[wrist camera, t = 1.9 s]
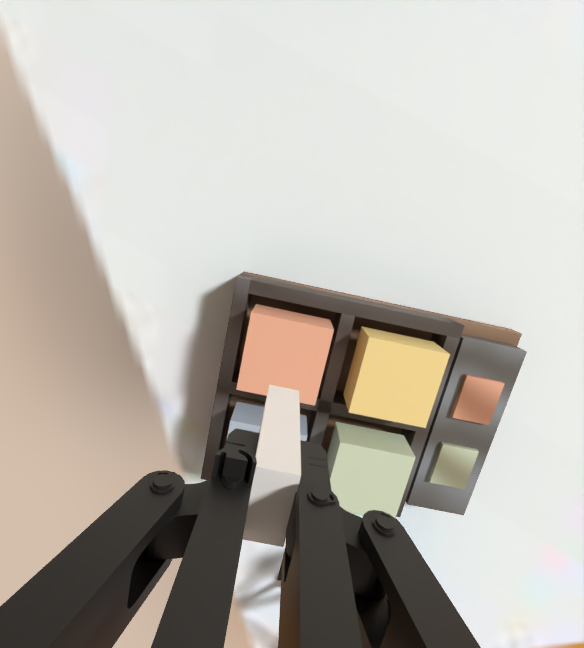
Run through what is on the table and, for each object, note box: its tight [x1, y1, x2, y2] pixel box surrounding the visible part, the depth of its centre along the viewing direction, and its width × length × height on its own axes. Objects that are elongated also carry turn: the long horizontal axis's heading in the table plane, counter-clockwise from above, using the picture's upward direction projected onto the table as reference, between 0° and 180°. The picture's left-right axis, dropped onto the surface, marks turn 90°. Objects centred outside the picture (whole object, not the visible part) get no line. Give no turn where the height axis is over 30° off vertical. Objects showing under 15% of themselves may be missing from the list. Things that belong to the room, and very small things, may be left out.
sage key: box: [327, 422, 416, 518], centre depth 28 cm, size 6×6×3 cm
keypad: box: [201, 272, 526, 517], centre depth 30 cm, size 17×23×4 cm
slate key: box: [227, 402, 308, 441], centre depth 28 cm, size 6×6×3 cm
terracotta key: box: [236, 304, 334, 406], centre depth 26 cm, size 6×6×3 cm
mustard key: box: [343, 326, 450, 428], centre depth 26 cm, size 6×6×3 cm
